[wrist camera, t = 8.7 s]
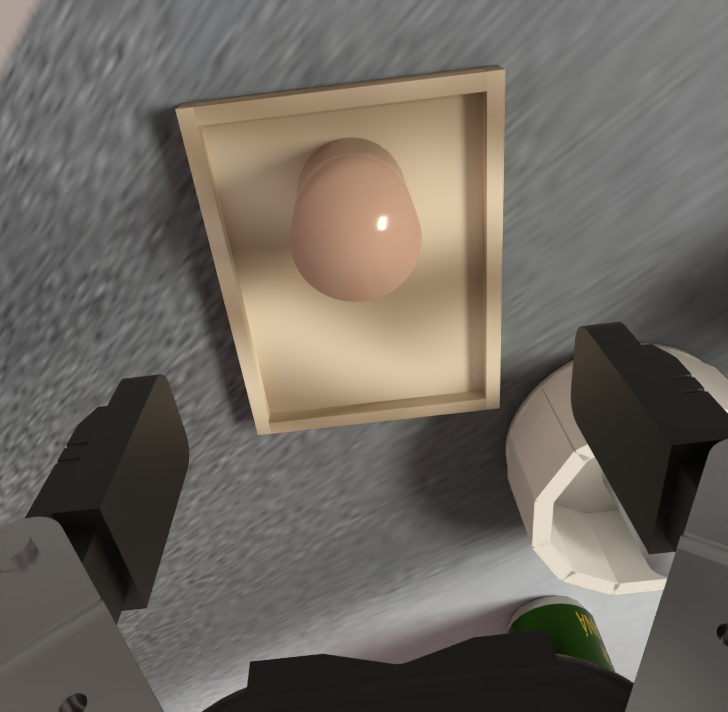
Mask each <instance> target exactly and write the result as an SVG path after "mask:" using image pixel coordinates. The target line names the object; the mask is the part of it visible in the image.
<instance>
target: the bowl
mask: <svg viewBox="0 0 728 712" xmlns="http://www.w3.org/2000/svg"><path fill="white" fill-rule="evenodd" d="M640 344H641V345H647V344H653V345H655V346H657V347H658V348H660V349H662V350H664V351H666V352H668V353H670V354H671V355H673V356H675V357H677V359H678V360H679V361H680V362H681V363H682V364H683V365H684V366H685V367H686V368H687V369H688V370H689V372H690V373H691V374H692V377H695V378H696V379H697V380H698V381H699V382H700V384H701V385H702V386H703V387H704V390H705V391H708V392H709V393H710V394H711V395H712V397H713V398H714V399H715V400H716V401H717V402H718V403H719V404H720V405H721V406H722V407H723V409H724V410H725V411H726V412H727V413H728V380H727V379H726V378H725V377H724V376H723V375H722V374H721V373H720V372H719V371H718V370H717V369H716V368H715V367H713V366H710V365H708V364H705V363H704V362H703V361H701V360H700V359H699V358H697V357H696V356H694V355H692V354H690V353H688V352H686V351H684V350H681V349H678V348H675V347H672V346H667V345H662V344H655V343H640ZM572 370H573V361H571V362H569V363H567V364H565V365H563V366H562V367H560V368H559V369H557V370H556V371H554V372H552V373H551V374H550V375H549V376H547V377H546V378H545V379H544V380H542V381H541V382H540V383H539V384H538V385H537V386H536V387H535V388H534V389H533V390H532V391H531V392H530V393H529V394H528V396H527V397H526V398H525V399H524V401H523V402H522V403H521V405H520V406H519V408H518V410H517V411H516V413H515V414H514V417H513V419H512V421H511V423H510V426H509V429H508V433H507V436H506V444H505V455H506V462H507V466H508V476H507V478H508V480H509V483H510V486H511V489H512V492H513V495H514V498H515V500H516V503H517V506H518V509H519V512H520V515H521V517H522V520H523V523H524V526H525V529H526V532H527V534H528V537H529V540H530V543H531V546H532V548H533V550H534V551H535V552H536V553H537V554H538V555H539V557H540V558H541V559H542V560H543V561H544V562H545V563H546V565H547V566H548V567H549V568H550V569H551V570H552V571H553V573H554V574H555V575H556V576H557V577H558V578H559V579H560V581H562V582H566V583H570V584H573V585H577V586H580V587H584V588H588V589H591V590H595V591H598V592H602V593H606V594H609V595H611V594H612V595H618V594H628V593H637V592H646V591H656V590H664V587H665V584H666V581H667V578H668V577H665V576H662V575H659V574H657V573H655V572H654V571H653V570H652V569H651V568H650V567H649V565H648V564H647V562H646V560H645V558H644V556H643V554H642V553H641V551H640V549H639V547H638V545H637V543H636V542H635V540H634V538H633V536H632V534H631V532H630V531H629V529H628V527H627V525H626V523H625V521H624V520H623V518H622V516H621V514H620V512H619V510H618V509H617V507H616V505H615V503H614V501H613V499H612V497H611V496H610V494H609V492H608V490H607V488H606V486H605V485H604V482H603V471H602V469H601V467H600V465H599V464H598V462H597V460H596V458H595V456H594V455H593V453H592V451H591V449H590V447H589V446H588V444H587V442H586V440H585V438H584V437H583V435H582V433H581V431H580V429H579V428H578V426H577V424H576V422H575V419H574V416H573V412H572V407H571V382H572Z"/></svg>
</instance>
